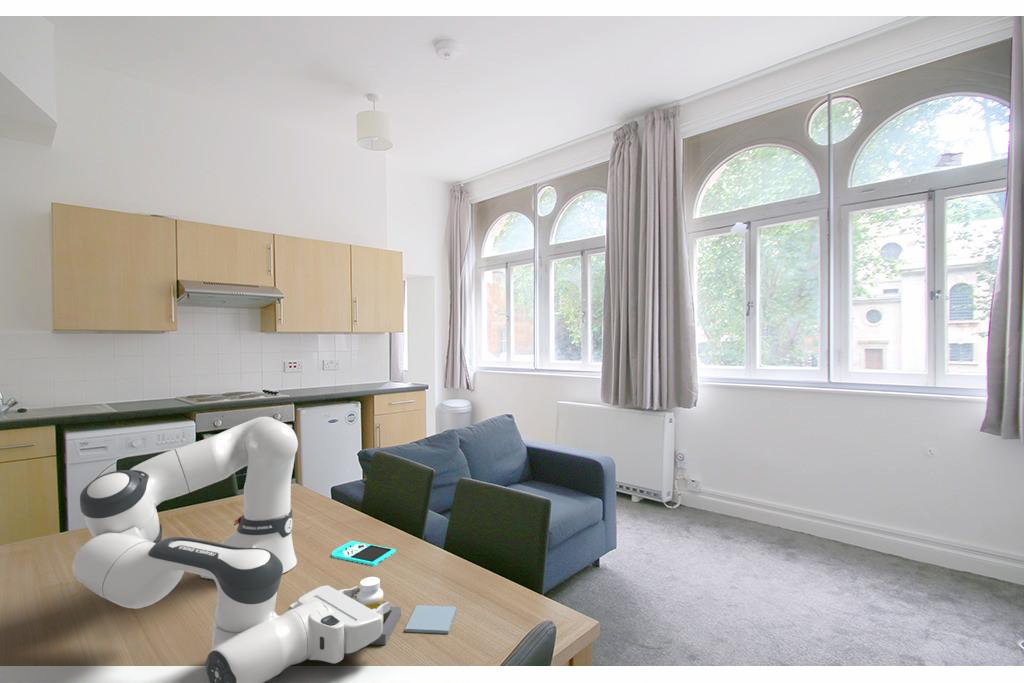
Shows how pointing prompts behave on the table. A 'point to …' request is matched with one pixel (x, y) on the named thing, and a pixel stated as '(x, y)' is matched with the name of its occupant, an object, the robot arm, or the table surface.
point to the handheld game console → (362, 553)
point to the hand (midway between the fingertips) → (373, 597)
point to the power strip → (388, 625)
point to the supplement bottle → (370, 592)
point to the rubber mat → (431, 619)
